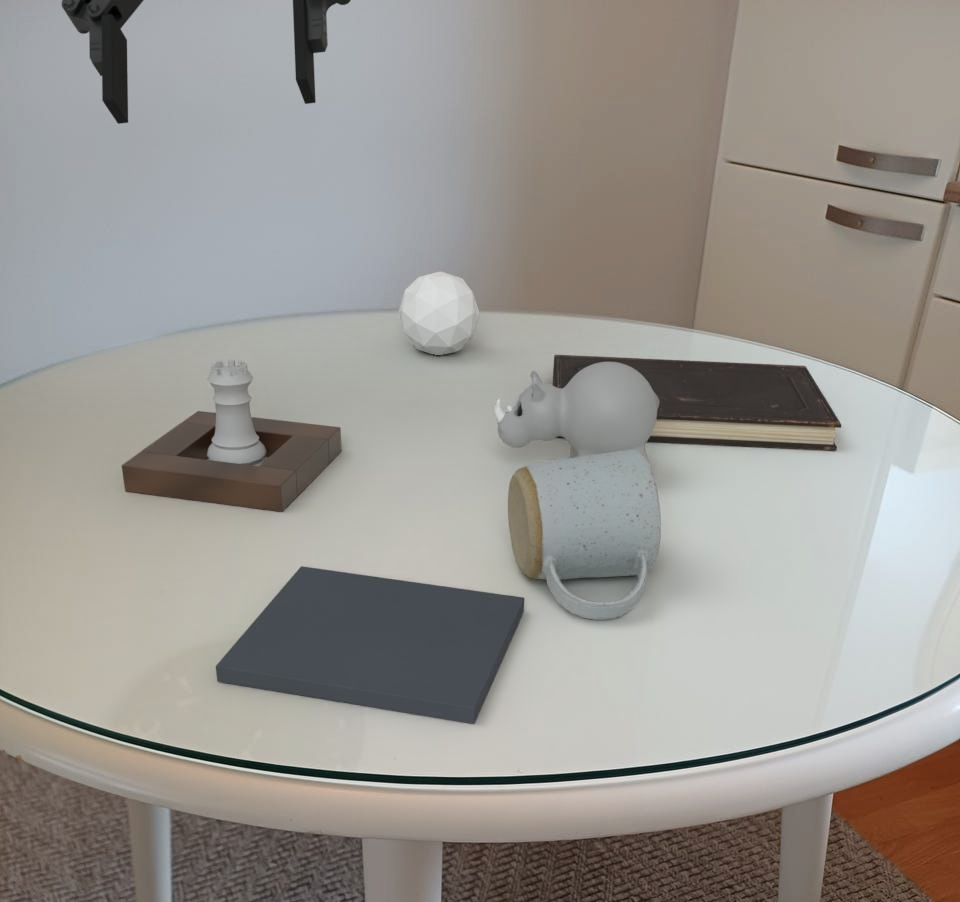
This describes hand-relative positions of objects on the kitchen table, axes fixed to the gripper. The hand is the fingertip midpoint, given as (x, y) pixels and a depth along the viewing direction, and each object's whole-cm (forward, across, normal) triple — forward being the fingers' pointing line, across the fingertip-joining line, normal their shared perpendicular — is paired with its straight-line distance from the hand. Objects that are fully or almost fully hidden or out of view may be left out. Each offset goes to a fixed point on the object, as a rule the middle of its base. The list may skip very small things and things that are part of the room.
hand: (210, 102), depth 78 cm
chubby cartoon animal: (+25, -23, -12) cm, 37 cm away
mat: (+40, -12, +9) cm, 43 cm away
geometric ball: (+5, -12, -35) cm, 37 cm away
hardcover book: (+17, -34, -25) cm, 45 cm away
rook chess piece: (+24, +1, -9) cm, 26 cm away
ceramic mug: (+36, -24, +1) cm, 43 cm away
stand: (+24, +1, -9) cm, 26 cm away
